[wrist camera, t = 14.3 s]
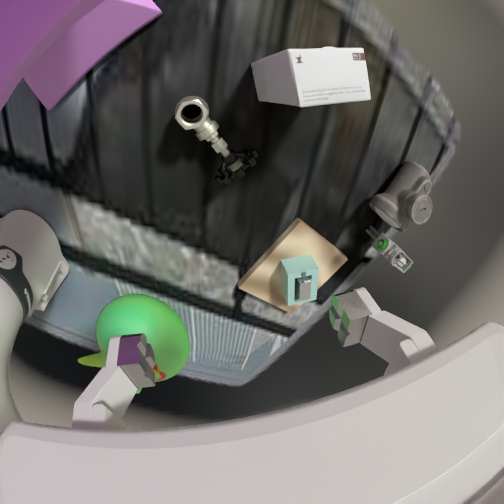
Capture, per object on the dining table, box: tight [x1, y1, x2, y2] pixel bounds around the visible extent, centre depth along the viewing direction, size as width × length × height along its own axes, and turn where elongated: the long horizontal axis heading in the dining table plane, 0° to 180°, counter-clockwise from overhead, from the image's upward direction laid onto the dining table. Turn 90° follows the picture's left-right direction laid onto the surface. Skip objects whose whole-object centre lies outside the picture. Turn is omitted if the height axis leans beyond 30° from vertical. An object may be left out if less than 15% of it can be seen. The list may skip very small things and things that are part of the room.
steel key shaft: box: [295, 276, 311, 301], centre depth 49 cm, size 4×2×5 cm, turn 5°
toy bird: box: [78, 294, 190, 393], centre depth 45 cm, size 18×17×15 cm
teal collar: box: [281, 254, 319, 306], centre depth 49 cm, size 7×5×4 cm
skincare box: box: [251, 47, 371, 107], centre depth 27 cm, size 8×6×15 cm
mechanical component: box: [366, 225, 413, 273], centre depth 46 cm, size 3×10×10 cm, turn 55°
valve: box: [175, 96, 259, 185], centre depth 33 cm, size 7×7×12 cm
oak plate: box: [237, 217, 348, 314], centre depth 51 cm, size 16×14×2 cm
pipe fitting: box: [369, 161, 432, 232], centre depth 42 cm, size 12×8×10 cm
